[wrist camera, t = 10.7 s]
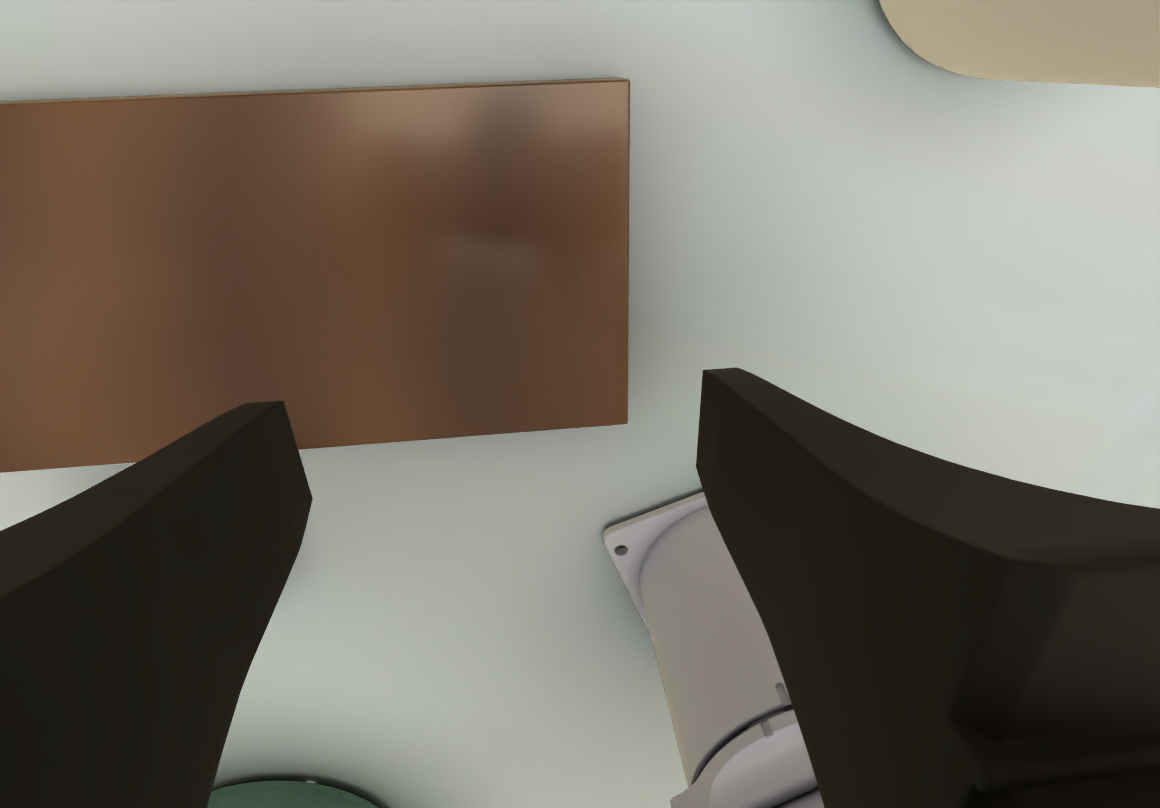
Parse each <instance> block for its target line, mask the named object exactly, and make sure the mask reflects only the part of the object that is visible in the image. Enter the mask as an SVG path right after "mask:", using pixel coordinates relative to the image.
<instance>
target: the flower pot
mask: <svg viewBox="0 0 1160 808" xmlns="http://www.w3.org/2000/svg"><path fill="white" fill-rule="evenodd" d="M207 808H379V807H377V806H376V805H374V804H372V803H371V802H369V801H367V800H365V799H363V798H361V797H359V796H356V795H354V794H352V793H349V792H346V791H343V790H340V789H337V788H333V787H329V786H324V785H319V784H314V783H307V782H299V781H260V782H249V783H242V784H237V785H232V786H227V787H223V788H220V789H217V790H214V791H211V795H210V798H209V802H208V806H207Z"/></svg>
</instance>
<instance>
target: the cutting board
mask: <svg viewBox="0 0 1160 808" xmlns="http://www.w3.org/2000/svg"><path fill="white" fill-rule="evenodd" d="M629 148H630V81H629V80H628V79H623V78H596V79H570V80H544V81H518V82H492V83H466V84H440V85H414V86H388V87H362V88H336V89H310V90H284V91H257V92H231V93H205V94H179V95H153V96H127V97H101V98H75V99H49V100H23V101H0V473H1V472H14V471H27V470H40V469H53V468H66V467H78V466H91V465H104V464H117V463H130V462H139V461H141V460H143V459H144V458H146V457H148V456H150V455H151V454H153V453H155V452H157V451H158V450H160V449H162V448H163V447H165V446H167V445H169V444H170V443H172V442H174V441H176V440H177V439H179V438H181V437H182V436H184V435H186V434H188V433H189V432H191V431H193V430H195V429H196V428H198V427H200V426H202V425H203V424H205V423H207V422H209V421H210V420H212V419H214V418H216V417H218V416H220V415H222V414H223V413H225V412H227V411H229V410H231V409H234V408H236V407H238V406H241V405H243V404H246V403H256V402H270V401H284V404H285V407H286V411H287V414H288V417H289V421H290V424H291V428H292V431H293V434H294V438H295V441H296V444H297V448H298V449H310V448H323V447H336V446H349V445H362V444H374V443H387V442H400V441H413V440H426V439H439V438H452V437H465V436H477V435H490V434H503V433H516V432H529V431H542V430H555V429H568V428H580V427H593V426H606V425H619V424H627V422H628V299H629Z"/></svg>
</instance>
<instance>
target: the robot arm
mask: <svg viewBox="0 0 1160 808" xmlns="http://www.w3.org/2000/svg"><path fill="white" fill-rule="evenodd" d="M696 468H697V471H698V474H699V478H700V481H701V485H702V488H703V491H704V492H701V493H698V494H696V495H693V496H690V497H688V498H685V499H682V500H680V501H677V502H674V503H672V504H669V505H666V506H664V507H661V508H658V509H656V510H653V511H650V512H648V513H645V514H643V515H640V516H637V517H635V518H632V519H629V520H627V521H624V522H621V523H619V524H616V525H613V526H611V527H609V528H607V529H606V530H605V531H604V533H603V541H604V545H605V547H606V549H607V551H608V553H609V555H610V557H611V559H612V561H613V563H614V565H615V567H616V569H617V571H618V573H619V575H620V577H621V579H622V581H623V583H624V585H625V587H626V589H627V591H628V592H629V594H630V596H631V598H632V600H633V602H634V604H635V606H636V608H637V610H638V612H639V614H640V616H641V618H642V620H643V622H644V624H645V626H646V628H647V630H648V632H649V634H650V636H651V638H652V641H653V645H654V649H655V654H656V658H657V662H658V666H659V670H660V674H661V678H662V682H663V686H664V690H665V694H666V698H667V702H668V707H669V711H670V715H671V719H672V723H673V727H674V731H675V735H676V739H677V743H678V747H679V751H680V755H681V760H682V764H683V768H684V772H685V776H686V780H687V784H688V789H686V790H685V791H684V792H682V793H680V794H678V795H677V796H675V797H673V798H672V799H671V800H670V802H671V807H672V808H1160V509H1157V508H1150V507H1143V506H1137V505H1130V504H1124V503H1118V502H1112V501H1107V500H1102V499H1097V498H1092V497H1087V496H1082V495H1078V494H1073V493H1068V492H1063V491H1058V490H1053V489H1049V488H1045V487H1040V486H1036V485H1032V484H1028V483H1024V482H1019V481H1015V480H1011V479H1008V478H1004V477H1001V476H997V475H993V474H990V473H986V472H983V471H979V470H975V469H972V468H968V467H965V466H962V465H958V464H955V463H952V462H949V461H946V460H942V459H939V458H937V457H934V456H931V455H928V454H925V453H923V452H920V451H917V450H914V449H912V448H909V447H906V446H903V445H900V444H898V443H895V442H893V441H890V440H888V439H885V438H883V437H880V436H878V435H875V434H873V433H871V432H869V431H866V430H864V429H862V428H860V427H857V426H855V425H853V424H851V423H849V422H846V421H844V420H842V419H840V418H838V417H836V416H834V415H832V414H830V413H827V412H825V411H823V410H821V409H819V408H817V407H815V406H813V405H812V404H810V403H808V402H806V401H804V400H802V399H800V398H798V397H796V396H794V395H792V394H790V393H788V392H787V391H785V390H783V389H781V388H779V387H777V386H775V385H773V384H771V383H769V382H768V381H766V380H764V379H762V378H760V377H758V376H756V375H754V374H751V373H749V372H747V371H745V370H742V369H739V368H726V369H712V370H703V377H702V391H701V405H700V419H699V433H698V448H697V462H696ZM311 502H312V495H311V492H310V488H309V485H308V482H307V478H306V475H305V472H304V468H303V465H302V461H301V458H300V455H299V451H298V448H297V444H296V441H295V438H294V434H293V431H292V428H291V424H290V421H289V417H288V414H287V411H286V407H285V404H284V401H270V402H256V403H246V404H243V405H241V406H238V407H236V408H234V409H231V410H229V411H227V412H225V413H223V414H222V415H220V416H218V417H216V418H214V419H212V420H210V421H209V422H207V423H205V424H203V425H202V426H200V427H198V428H196V429H195V430H193V431H191V432H189V433H188V434H186V435H184V436H182V437H181V438H179V439H177V440H176V441H174V442H172V443H170V444H169V445H167V446H165V447H163V448H162V449H160V450H158V451H157V452H155V453H153V454H151V455H150V456H148V457H146V458H144V459H143V460H141V461H139V462H137V463H136V464H134V465H132V466H130V467H128V468H126V469H124V470H123V471H121V472H119V473H117V474H115V475H113V476H111V477H110V478H108V479H106V480H104V481H102V482H100V483H98V484H97V485H95V486H93V487H91V488H89V489H87V490H85V491H84V492H82V493H80V494H78V495H76V496H74V497H72V498H70V499H68V500H66V501H64V502H62V503H60V504H58V505H56V506H54V507H52V508H50V509H48V510H46V511H44V512H42V513H39V514H37V515H35V516H33V517H31V518H29V519H26V520H24V521H22V522H20V523H17V524H15V525H13V526H11V527H9V528H6V529H4V530H2V531H0V808H207V806H208V802H209V798H210V795H211V791H212V787H213V784H214V780H215V776H216V773H217V769H218V765H219V762H220V758H221V754H222V751H223V747H224V744H225V741H226V738H227V734H228V731H229V728H230V724H231V721H232V718H233V714H234V711H235V708H236V705H237V701H238V698H239V695H240V692H241V689H242V686H243V683H244V681H245V678H246V676H247V673H248V670H249V668H250V665H251V662H252V660H253V658H254V655H255V653H256V651H257V648H258V646H259V644H260V642H261V639H262V637H263V635H264V632H265V630H266V628H267V625H268V623H269V621H270V618H271V616H272V614H273V611H274V609H275V607H276V604H277V602H278V600H279V597H280V595H281V593H282V590H283V588H284V586H285V583H286V581H287V579H288V576H289V574H290V571H291V569H292V567H293V564H294V562H295V559H296V557H297V554H298V552H299V549H300V546H301V543H302V539H303V535H304V532H305V528H306V524H307V520H308V515H309V511H310V507H311ZM620 545H624V546H625V547H623V548H621V549H617V548H616V547H618V546H620Z"/></svg>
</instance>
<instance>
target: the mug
mask: <svg viewBox="0 0 1160 808" xmlns="http://www.w3.org/2000/svg"><path fill="white" fill-rule="evenodd" d="M879 2H880V4H881V7H882V9H883V12H884V13H885V15H886V17H887V19H888V21H889V22H890V24H891V26H892V28H893V29H894V31H895V32H896V33H897V34H898V36H899V37H900V38H901V39H902V41H903V42H904V43H905V44H906V45H907V46H908V47H909V48H910V49H912V50H913V51H914V52H915V53H916V54H917V55H919V56H920V57H922V58H923V59H925V60H927V61H928V62H930V63H931V64H933V65H936V66H938V67H941V68H943V69H946V70H948V71H951V72H953V73H956V74H961V75H966V76H971V77H976V78H982V79H993V80H1012V81H1032V82H1053V83H1074V84H1094V85H1115V86H1135V87H1156V88H1160V0H879Z"/></svg>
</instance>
